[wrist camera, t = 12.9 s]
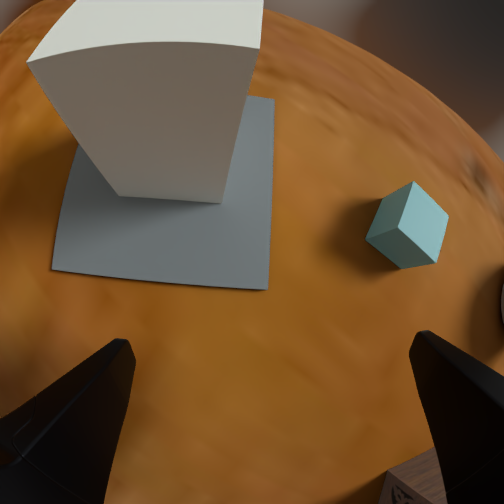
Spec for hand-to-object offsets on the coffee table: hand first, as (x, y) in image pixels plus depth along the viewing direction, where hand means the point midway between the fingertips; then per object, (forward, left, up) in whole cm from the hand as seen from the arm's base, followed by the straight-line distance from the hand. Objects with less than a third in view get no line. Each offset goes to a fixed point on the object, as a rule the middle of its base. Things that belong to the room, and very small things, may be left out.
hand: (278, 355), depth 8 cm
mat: (-2, +10, -9) cm, 14 cm away
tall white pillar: (-1, +11, -9) cm, 14 cm away
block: (+13, +2, -9) cm, 16 cm away
